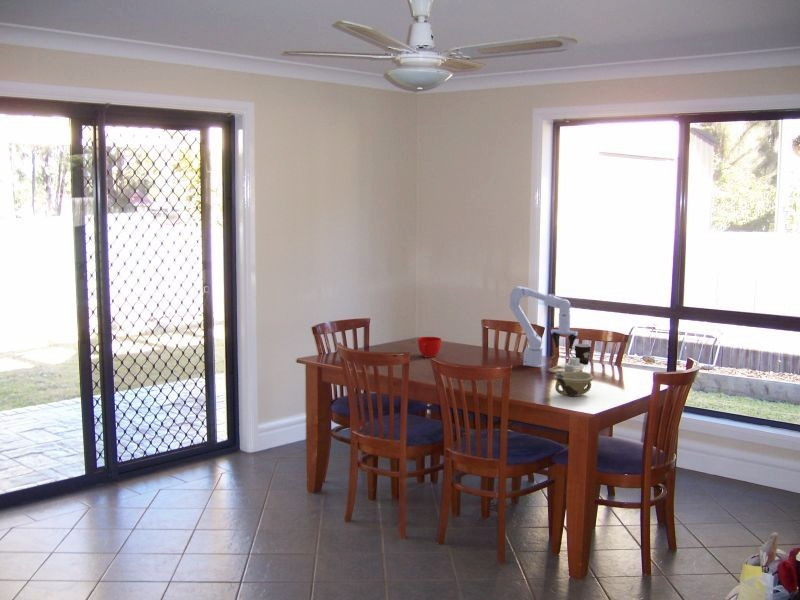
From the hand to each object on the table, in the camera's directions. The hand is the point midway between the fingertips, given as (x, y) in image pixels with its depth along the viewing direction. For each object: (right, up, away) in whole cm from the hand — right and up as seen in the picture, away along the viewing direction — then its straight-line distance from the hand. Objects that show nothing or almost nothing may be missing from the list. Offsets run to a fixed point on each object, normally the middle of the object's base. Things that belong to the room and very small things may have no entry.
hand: (564, 347), depth 425 cm
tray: (-2, -12, -10) cm, 16 cm away
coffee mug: (+10, -9, +11) cm, 18 cm away
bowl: (-7, -19, -55) cm, 58 cm away
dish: (+5, -11, -2) cm, 12 cm away
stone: (0, -12, -15) cm, 19 cm away
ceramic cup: (-71, -7, +25) cm, 76 cm away
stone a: (+5, -10, -2) cm, 12 cm away
